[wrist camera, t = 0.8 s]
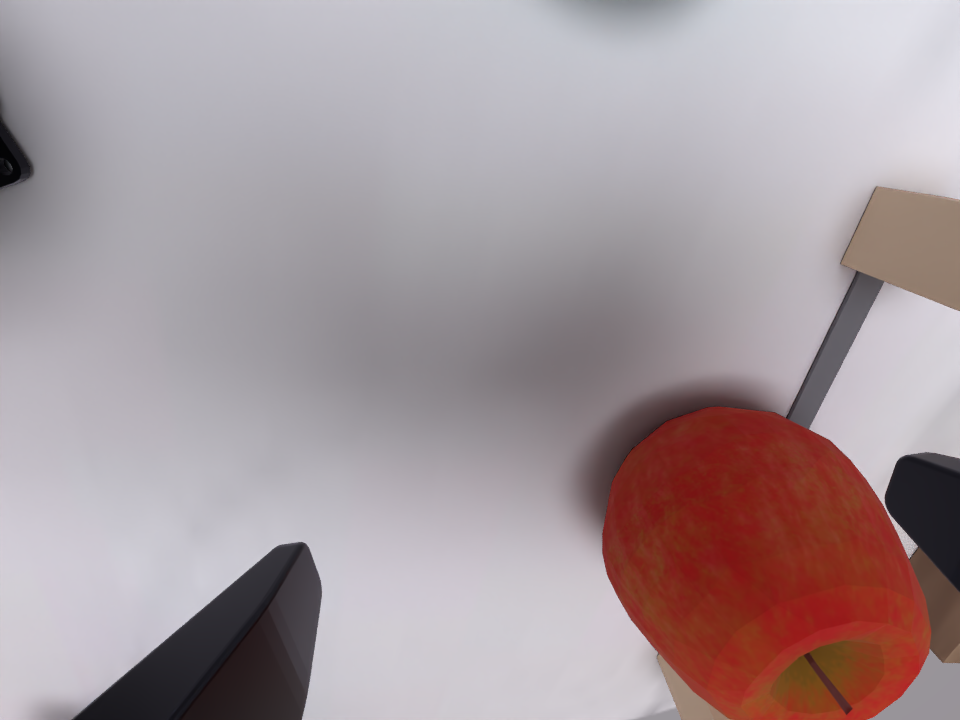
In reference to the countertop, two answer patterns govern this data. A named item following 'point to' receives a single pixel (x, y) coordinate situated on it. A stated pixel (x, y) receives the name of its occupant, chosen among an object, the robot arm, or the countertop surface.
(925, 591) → the batten
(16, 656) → the countertop surface
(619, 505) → the apple
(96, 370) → the countertop surface
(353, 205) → the countertop surface
